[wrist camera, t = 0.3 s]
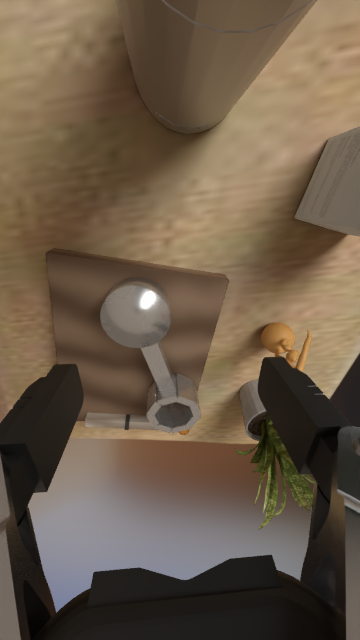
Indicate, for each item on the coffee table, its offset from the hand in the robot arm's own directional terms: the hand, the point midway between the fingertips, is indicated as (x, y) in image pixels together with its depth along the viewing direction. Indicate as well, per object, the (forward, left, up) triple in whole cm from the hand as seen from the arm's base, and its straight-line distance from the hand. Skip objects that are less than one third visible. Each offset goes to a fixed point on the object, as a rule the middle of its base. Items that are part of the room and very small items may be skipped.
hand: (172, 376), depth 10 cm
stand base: (+12, -3, -18) cm, 22 cm away
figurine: (+6, +14, -18) cm, 24 cm away
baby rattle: (+12, +1, -16) cm, 20 cm away
